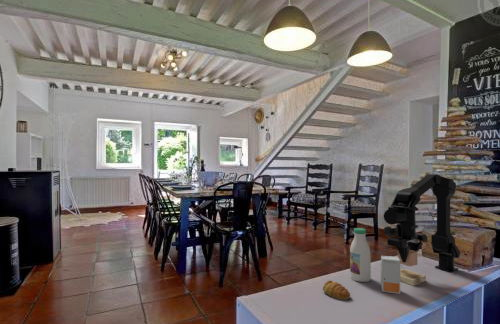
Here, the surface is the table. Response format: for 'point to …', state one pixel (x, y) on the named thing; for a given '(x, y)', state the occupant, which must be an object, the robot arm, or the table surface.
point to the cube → (409, 258)
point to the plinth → (411, 277)
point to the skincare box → (390, 274)
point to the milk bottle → (360, 257)
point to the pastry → (336, 290)
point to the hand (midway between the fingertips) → (407, 261)
